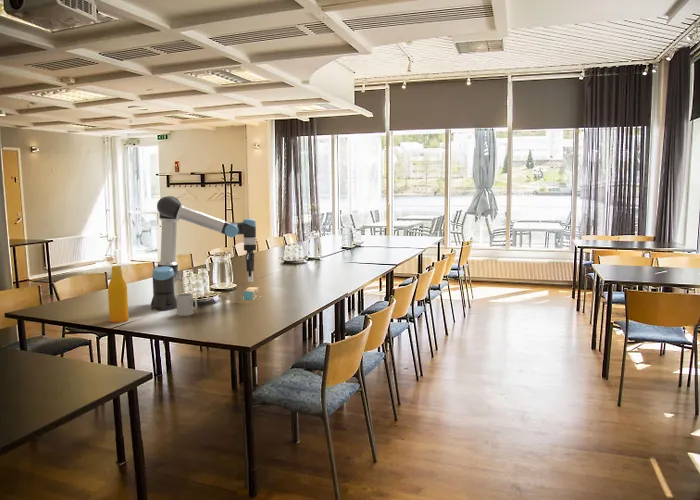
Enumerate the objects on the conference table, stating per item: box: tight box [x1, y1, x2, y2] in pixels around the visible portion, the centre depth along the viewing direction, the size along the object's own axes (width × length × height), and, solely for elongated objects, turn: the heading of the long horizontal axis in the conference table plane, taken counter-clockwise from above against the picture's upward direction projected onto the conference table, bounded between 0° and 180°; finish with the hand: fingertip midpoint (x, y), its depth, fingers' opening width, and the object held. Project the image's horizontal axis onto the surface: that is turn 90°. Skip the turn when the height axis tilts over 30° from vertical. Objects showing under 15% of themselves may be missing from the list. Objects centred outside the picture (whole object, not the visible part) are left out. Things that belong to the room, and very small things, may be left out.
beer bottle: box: [107, 265, 130, 324], centre depth 272 cm, size 9×9×29 cm
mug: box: [176, 292, 198, 317], centre depth 287 cm, size 12×8×11 cm
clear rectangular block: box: [242, 286, 260, 301], centre depth 325 cm, size 6×6×14 cm
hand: (250, 281), depth 324 cm, fingers closed
